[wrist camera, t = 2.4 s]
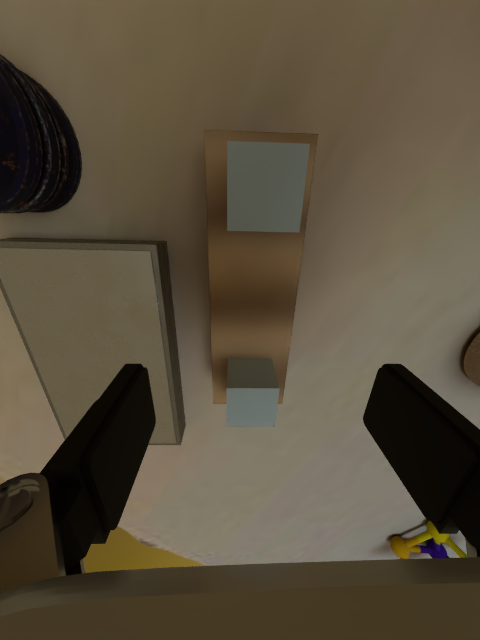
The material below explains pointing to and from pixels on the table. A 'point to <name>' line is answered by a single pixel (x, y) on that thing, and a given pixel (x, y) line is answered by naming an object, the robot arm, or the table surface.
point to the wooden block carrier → (250, 270)
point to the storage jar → (34, 146)
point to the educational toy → (432, 546)
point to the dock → (95, 322)
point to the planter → (473, 360)
